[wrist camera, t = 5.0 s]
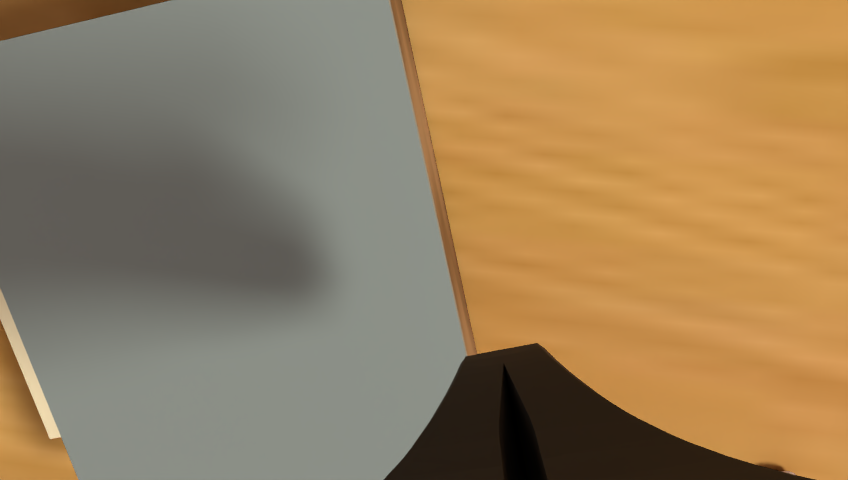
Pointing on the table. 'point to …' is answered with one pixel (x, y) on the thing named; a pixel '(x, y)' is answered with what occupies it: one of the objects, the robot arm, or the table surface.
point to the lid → (223, 242)
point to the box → (433, 173)
